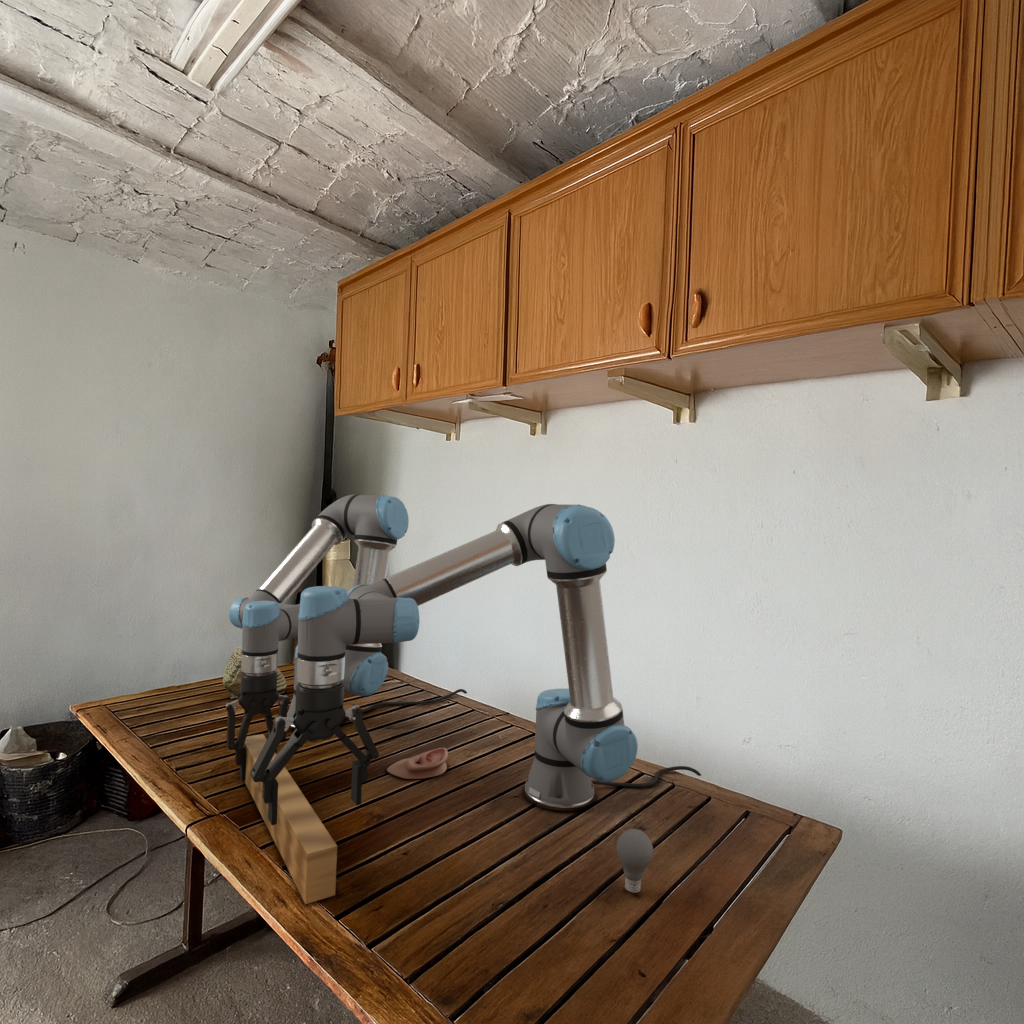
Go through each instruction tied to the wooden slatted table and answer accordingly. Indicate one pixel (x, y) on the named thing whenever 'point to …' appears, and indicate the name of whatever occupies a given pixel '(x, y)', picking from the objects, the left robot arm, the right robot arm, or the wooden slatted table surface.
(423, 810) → the wooden slatted table surface
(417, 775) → the anatomical model
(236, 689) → the fossil
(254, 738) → the bar
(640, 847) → the light bulb
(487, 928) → the wooden slatted table surface
